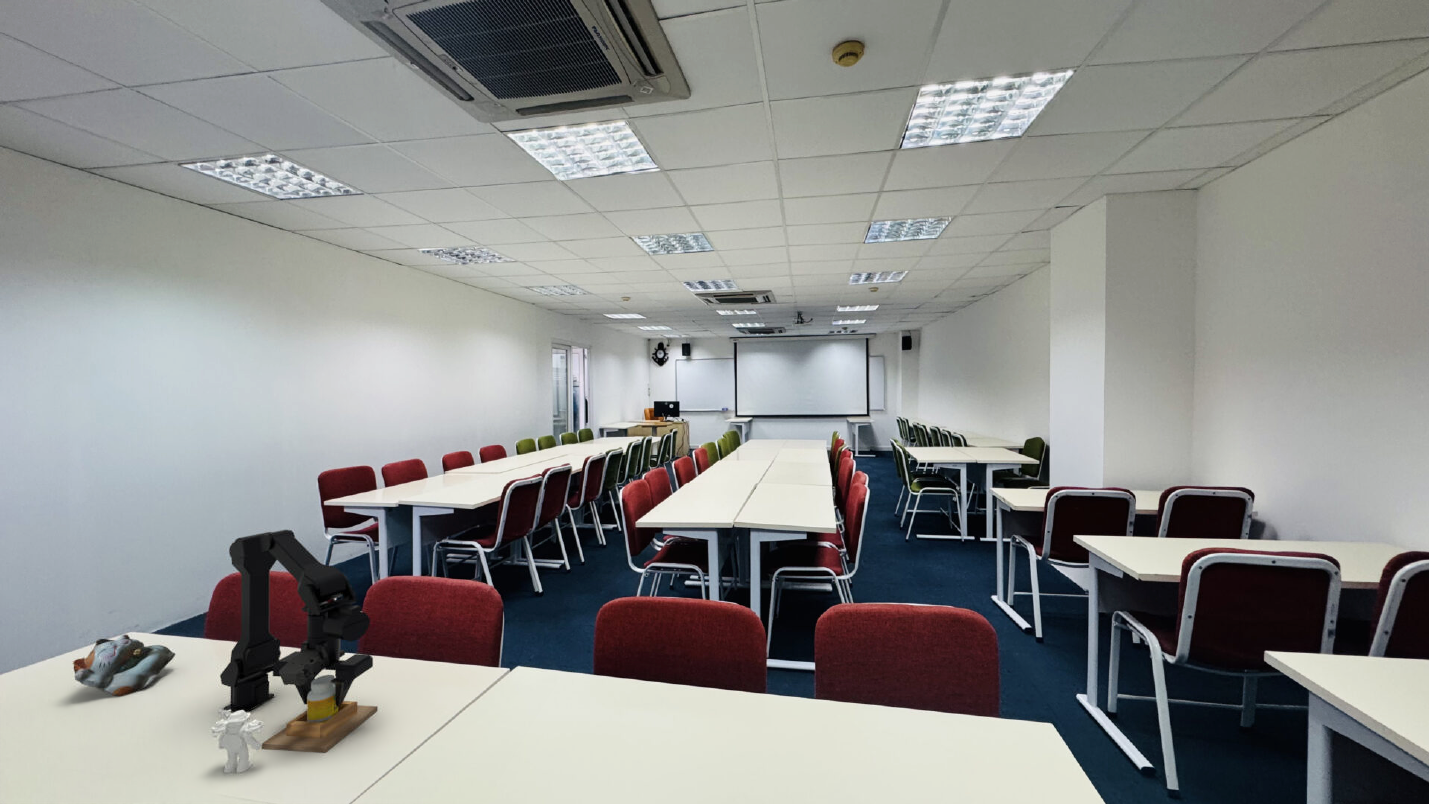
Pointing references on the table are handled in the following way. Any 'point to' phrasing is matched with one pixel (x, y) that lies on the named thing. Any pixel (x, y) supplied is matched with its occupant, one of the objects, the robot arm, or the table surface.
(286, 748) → the socket
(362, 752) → the table surface
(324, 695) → the supplement bottle
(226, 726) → the flower shoulder figurine
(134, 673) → the lucky cat figurine
